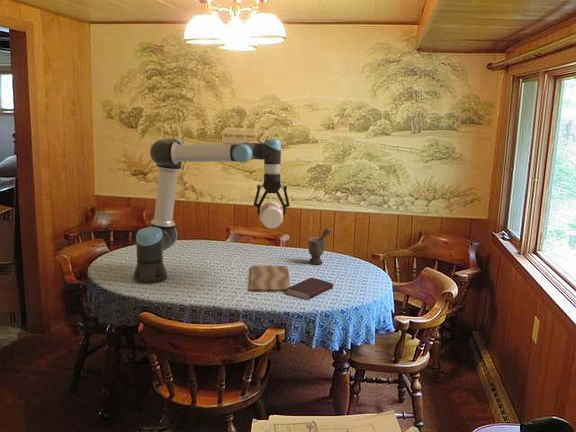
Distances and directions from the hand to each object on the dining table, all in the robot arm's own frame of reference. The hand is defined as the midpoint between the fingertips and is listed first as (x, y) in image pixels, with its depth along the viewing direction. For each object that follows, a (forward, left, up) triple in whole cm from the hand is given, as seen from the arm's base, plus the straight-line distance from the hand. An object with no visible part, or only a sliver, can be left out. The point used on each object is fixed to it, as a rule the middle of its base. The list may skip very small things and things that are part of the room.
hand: (271, 221), depth 248 cm
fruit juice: (0, -15, +4) cm, 16 cm away
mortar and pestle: (+26, +27, -28) cm, 47 cm away
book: (+18, -16, -29) cm, 38 cm away
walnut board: (0, 0, -28) cm, 28 cm away
